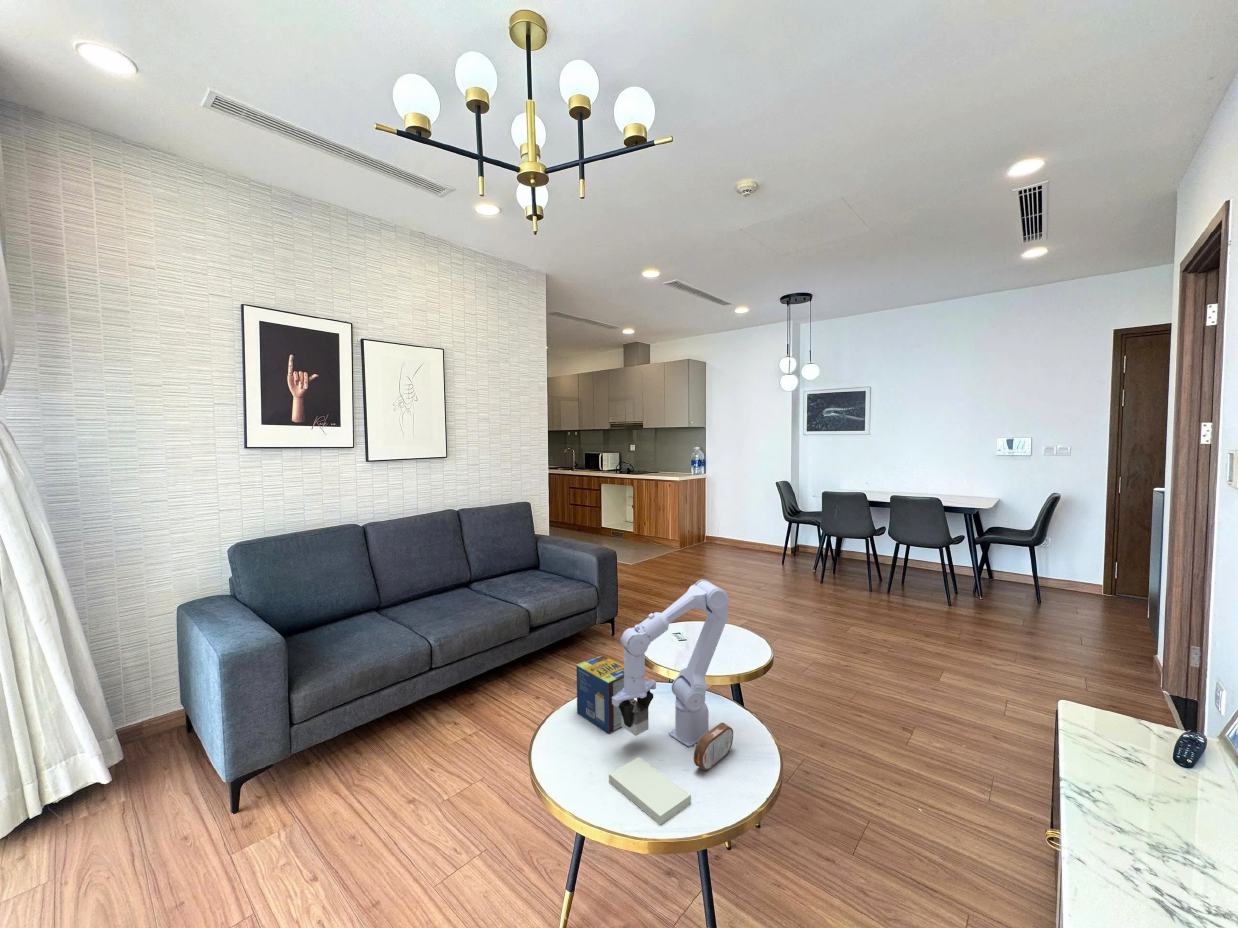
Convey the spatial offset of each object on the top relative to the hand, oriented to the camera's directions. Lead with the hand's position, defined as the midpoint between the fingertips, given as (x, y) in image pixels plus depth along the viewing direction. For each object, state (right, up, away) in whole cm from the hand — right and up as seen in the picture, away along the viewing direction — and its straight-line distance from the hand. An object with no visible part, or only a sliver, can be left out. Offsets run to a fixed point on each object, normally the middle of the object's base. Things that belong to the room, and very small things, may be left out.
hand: (634, 721), depth 136 cm
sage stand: (+3, -8, -17) cm, 19 cm away
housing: (0, -2, 0) cm, 2 cm away
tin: (+21, -8, -6) cm, 23 cm away
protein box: (-9, -7, +15) cm, 19 cm away
